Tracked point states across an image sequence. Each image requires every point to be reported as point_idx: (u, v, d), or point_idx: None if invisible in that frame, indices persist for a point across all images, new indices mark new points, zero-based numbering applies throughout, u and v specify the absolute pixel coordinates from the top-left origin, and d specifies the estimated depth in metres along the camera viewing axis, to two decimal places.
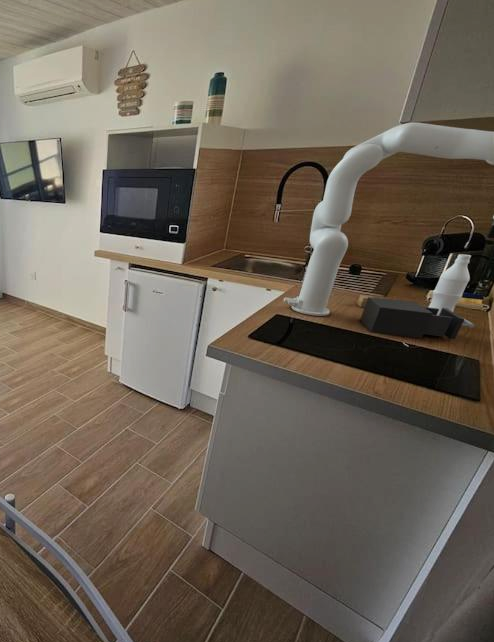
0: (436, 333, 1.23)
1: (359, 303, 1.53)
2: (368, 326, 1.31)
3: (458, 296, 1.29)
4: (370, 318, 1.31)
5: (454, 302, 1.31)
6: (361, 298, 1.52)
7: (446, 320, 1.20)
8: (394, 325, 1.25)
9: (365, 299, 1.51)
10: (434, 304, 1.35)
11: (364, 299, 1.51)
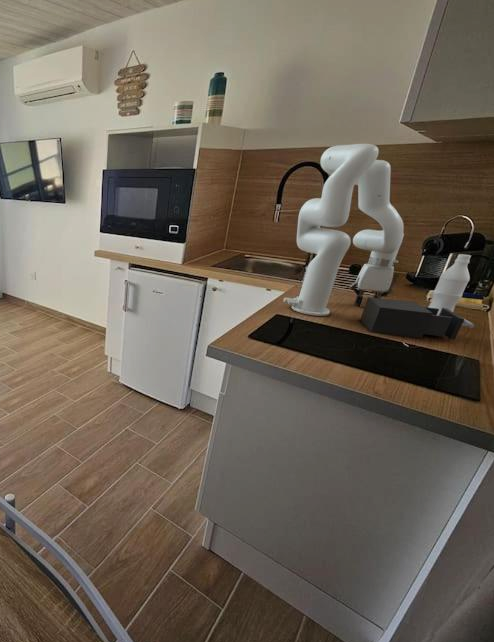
0: (436, 333, 1.23)
1: None
2: (368, 326, 1.31)
3: (458, 296, 1.29)
4: (370, 318, 1.31)
5: (454, 302, 1.31)
6: None
7: (446, 320, 1.20)
8: (394, 325, 1.25)
9: (365, 299, 1.51)
10: (434, 304, 1.35)
11: (364, 299, 1.51)
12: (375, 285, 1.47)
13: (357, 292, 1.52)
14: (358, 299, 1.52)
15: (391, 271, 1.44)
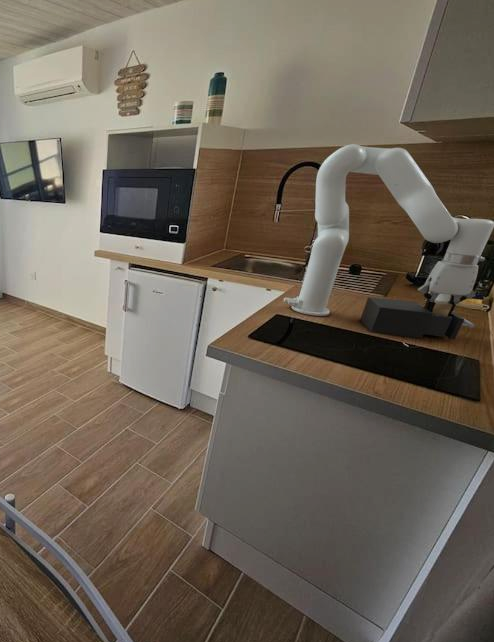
0: (436, 333, 1.23)
1: None
2: (368, 326, 1.31)
3: None
4: (370, 318, 1.31)
5: None
6: None
7: (446, 320, 1.20)
8: (394, 325, 1.25)
9: (438, 305, 1.22)
10: None
11: (437, 305, 1.22)
12: (452, 287, 1.19)
13: (428, 296, 1.23)
14: (429, 305, 1.24)
15: (475, 270, 1.15)
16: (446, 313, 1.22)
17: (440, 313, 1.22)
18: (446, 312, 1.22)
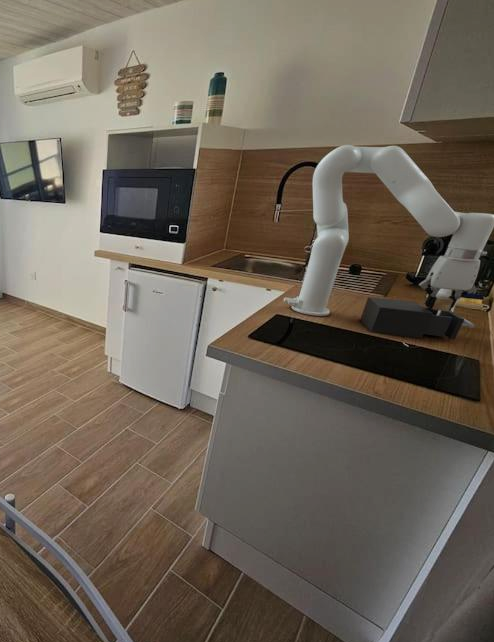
0: (436, 333, 1.23)
1: None
2: (368, 326, 1.31)
3: None
4: (370, 318, 1.31)
5: None
6: None
7: (446, 320, 1.20)
8: (394, 325, 1.25)
9: (439, 300, 1.21)
10: None
11: (438, 300, 1.21)
12: (454, 282, 1.18)
13: (429, 291, 1.22)
14: (430, 300, 1.23)
15: (477, 265, 1.15)
16: (447, 308, 1.21)
17: (441, 308, 1.22)
18: (447, 307, 1.21)
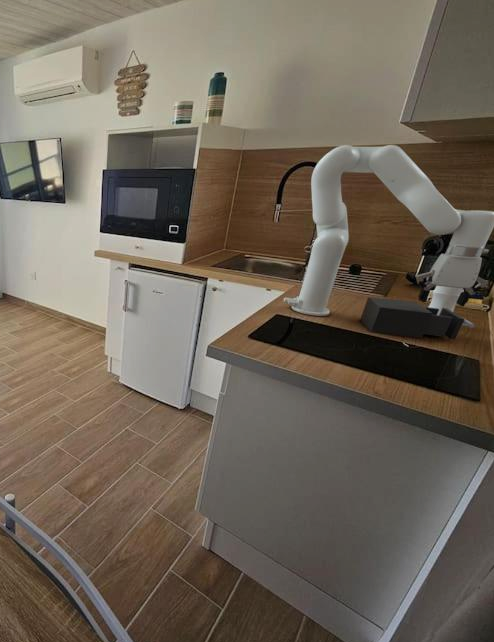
0: (436, 333, 1.22)
1: None
2: (368, 326, 1.31)
3: (458, 296, 1.29)
4: (370, 318, 1.31)
5: (454, 302, 1.31)
6: None
7: (447, 320, 1.20)
8: (394, 325, 1.25)
9: None
10: (434, 304, 1.35)
11: None
12: (455, 280, 1.18)
13: (422, 285, 1.23)
14: (423, 294, 1.23)
15: (478, 262, 1.14)
16: None
17: None
18: None
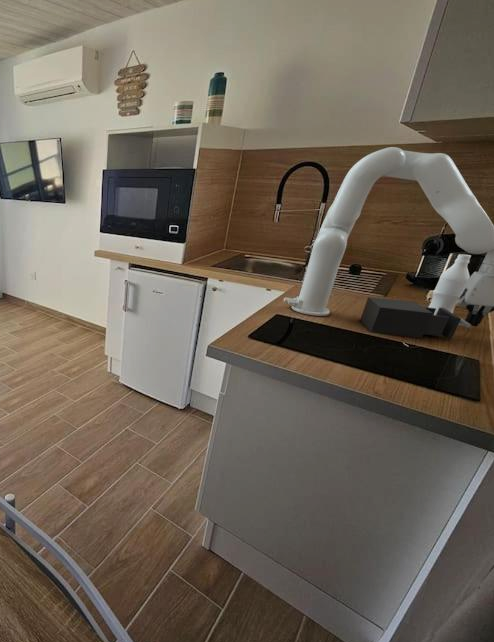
0: (433, 333, 1.23)
1: None
2: (368, 326, 1.31)
3: None
4: (370, 318, 1.31)
5: (454, 302, 1.31)
6: None
7: (443, 319, 1.21)
8: (394, 325, 1.25)
9: None
10: (434, 304, 1.35)
11: None
12: (489, 299, 1.16)
13: (470, 308, 1.20)
14: (471, 317, 1.20)
15: None
16: None
17: None
18: None
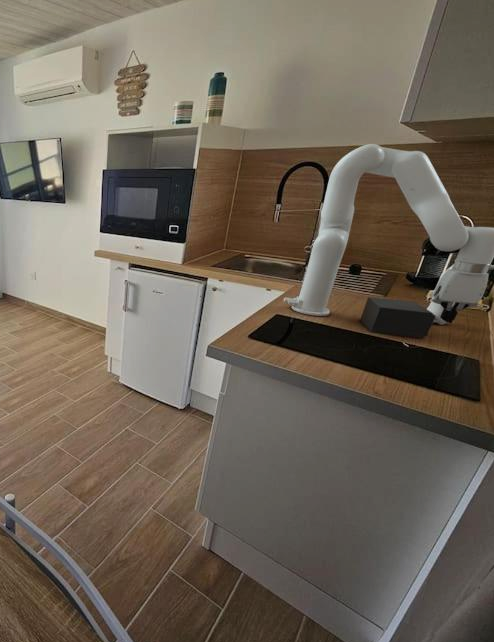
0: None
1: None
2: (368, 326, 1.31)
3: None
4: (370, 318, 1.31)
5: (454, 302, 1.31)
6: None
7: None
8: (394, 325, 1.25)
9: None
10: (434, 304, 1.35)
11: None
12: (462, 296, 1.18)
13: (445, 305, 1.22)
14: (445, 314, 1.23)
15: (485, 279, 1.15)
16: None
17: None
18: None
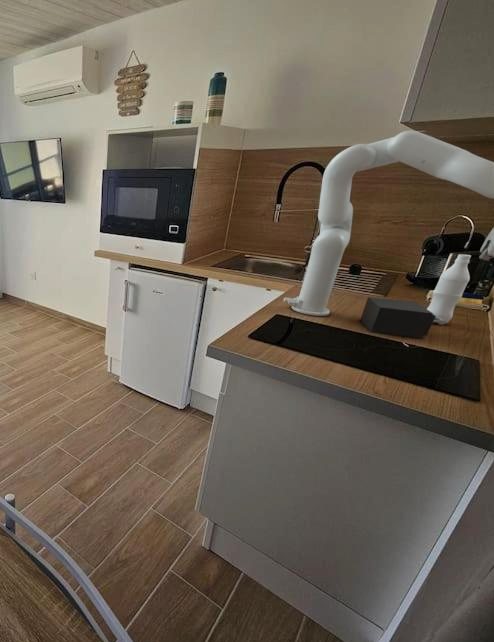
0: None
1: None
2: (368, 326, 1.31)
3: (458, 296, 1.29)
4: (370, 318, 1.31)
5: (454, 302, 1.31)
6: None
7: None
8: (394, 325, 1.25)
9: None
10: (434, 304, 1.35)
11: None
12: None
13: None
14: None
15: None
16: None
17: None
18: None
